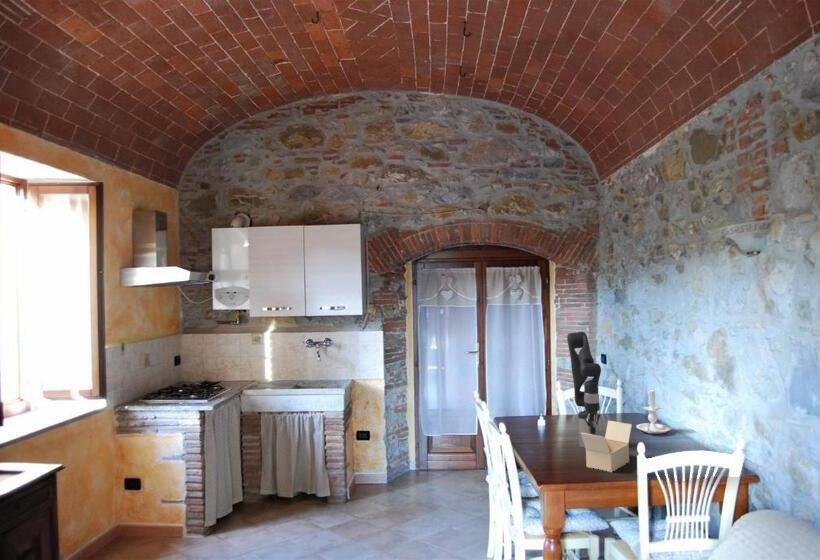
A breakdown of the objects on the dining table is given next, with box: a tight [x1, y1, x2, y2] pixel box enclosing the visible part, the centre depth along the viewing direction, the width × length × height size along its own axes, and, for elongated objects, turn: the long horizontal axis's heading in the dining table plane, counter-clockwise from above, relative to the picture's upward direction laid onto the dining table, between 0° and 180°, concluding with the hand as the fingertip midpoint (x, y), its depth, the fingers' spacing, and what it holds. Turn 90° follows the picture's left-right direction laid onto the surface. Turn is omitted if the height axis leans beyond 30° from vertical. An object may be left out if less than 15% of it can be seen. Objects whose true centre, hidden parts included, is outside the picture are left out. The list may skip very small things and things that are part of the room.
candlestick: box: [635, 389, 671, 435], centre depth 343 cm, size 21×25×28 cm
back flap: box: [604, 420, 633, 445], centre depth 297 cm, size 11×14×1 cm
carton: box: [585, 439, 630, 474], centre depth 287 cm, size 22×14×10 cm, turn 134°
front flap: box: [581, 433, 610, 454], centre depth 278 cm, size 11×14×1 cm
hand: (593, 433), depth 277 cm, fingers closed
